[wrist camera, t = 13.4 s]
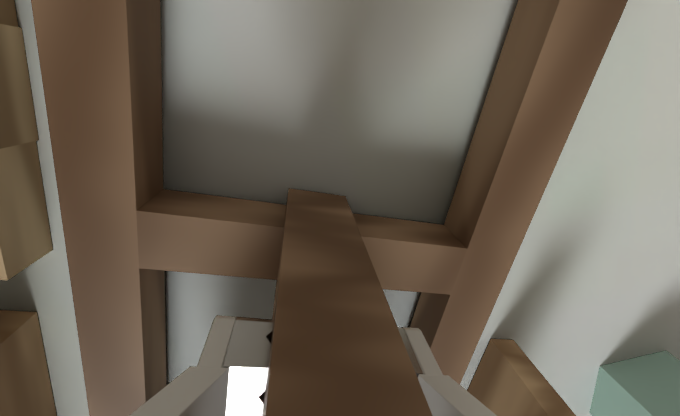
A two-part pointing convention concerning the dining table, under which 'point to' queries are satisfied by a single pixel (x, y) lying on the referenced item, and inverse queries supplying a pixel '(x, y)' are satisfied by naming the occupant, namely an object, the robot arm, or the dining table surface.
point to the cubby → (486, 386)
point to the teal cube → (638, 387)
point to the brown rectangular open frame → (294, 218)
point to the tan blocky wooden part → (18, 157)
